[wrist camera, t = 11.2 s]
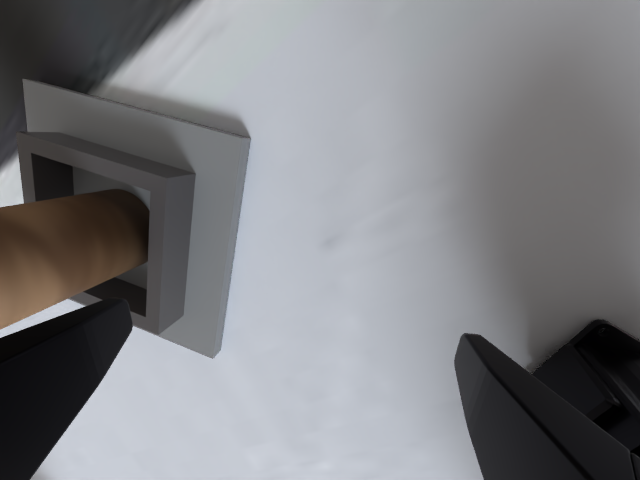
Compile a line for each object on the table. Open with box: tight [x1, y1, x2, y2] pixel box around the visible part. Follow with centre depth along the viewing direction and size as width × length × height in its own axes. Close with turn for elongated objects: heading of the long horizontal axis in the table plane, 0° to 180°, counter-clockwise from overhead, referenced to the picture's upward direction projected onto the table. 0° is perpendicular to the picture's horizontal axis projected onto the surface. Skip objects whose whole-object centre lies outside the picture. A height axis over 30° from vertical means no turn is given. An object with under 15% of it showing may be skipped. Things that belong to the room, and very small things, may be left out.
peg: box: [0, 189, 150, 329], centre depth 16 cm, size 6×6×13 cm
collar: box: [16, 79, 251, 359], centre depth 21 cm, size 16×16×4 cm
